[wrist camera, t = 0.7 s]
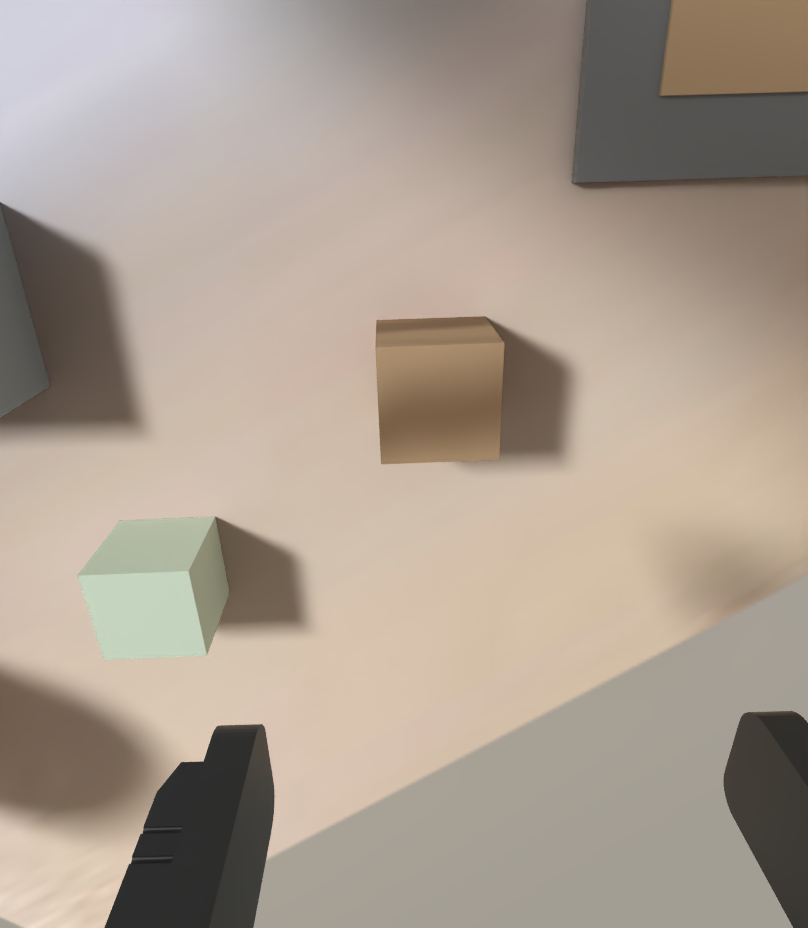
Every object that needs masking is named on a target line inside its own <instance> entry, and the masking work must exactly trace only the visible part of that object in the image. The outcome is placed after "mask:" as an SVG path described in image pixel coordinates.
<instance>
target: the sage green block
mask: <svg viewBox="0 0 808 928" xmlns="http://www.w3.org/2000/svg"><path fill="white" fill-rule="evenodd" d="M78 579H79V582H80V585H81V589H82V592H83V595H84V598H85V601H86V604H87V608H88V611H89V614H90V617H91V620H92V624H93V627H94V630H95V633H96V636H97V639H98V643H99V646H100V649H101V652H102V655H103V658H104V660H116V659H138V658H160V657H182V656H205V655H207V654H208V651H209V648H210V645H211V643H212V640H213V637H214V634H215V632H216V629H217V626H218V624H219V621H220V618H221V615H222V613H223V610H224V607H225V604H226V602H227V599H228V596H229V594H230V592H229V587H228V582H227V576H226V571H225V566H224V560H223V555H222V549H221V544H220V539H219V533H218V528H217V523H216V517H215V516H213V517H188V518H163V519H138V520H120V521H119V522H118V523H117V525H116V526H115V527H114V529H113V530H112V531H111V533H110V534H109V535H108V537H107V538H106V539H105V540H104V542H103V543H102V544H101V546H100V547H99V548H98V550H97V551H96V552H95V554H94V555H93V556H92V557H91V559H90V560H89V561H88V563H87V564H86V565H85V567H84V568H83V569H82V570H81V572H80V573H79V574H78Z"/></svg>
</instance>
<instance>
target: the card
mask: <svg viewBox="0 0 808 928" xmlns="http://www.w3.org/2000/svg"><path fill="white" fill-rule="evenodd" d="M777 176H808V0H587V4H586V16H585V28H584V40H583V52H582V64H581V76H580V88H579V100H578V112H577V124H576V136H575V148H574V160H573V173H572V183H583V182H616V181H648V180H680V179H712V178H745V177H777Z"/></svg>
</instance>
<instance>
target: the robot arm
mask: <svg viewBox="0 0 808 928" xmlns="http://www.w3.org/2000/svg"><path fill="white" fill-rule="evenodd" d="M724 791H725V796H726V799H727V803H728V806H729V809H730V811H731V814H732V815H733V818H734V819H735V821H736V823H737V825H738V827H739V829H740V830H741V832H742V834H743V836H744V838H745V840H746V841H747V843H748V845H749V847H750V849H751V851H752V852H753V854H754V856H755V858H756V860H757V862H758V864H759V865H760V867H761V869H762V871H763V873H764V874H765V876H766V878H767V880H768V882H769V884H770V885H771V887H772V889H773V891H774V893H775V895H776V897H777V898H778V900H779V902H780V904H781V906H782V908H783V910H784V911H785V913H786V915H787V917H788V918H789V921H790V922H791V924H792V926H793V928H808V723H807V721H806V720H805V719H804V718H803V717H802V716H801V715H799V714H798V713H796V712H793V711H779V712H748V713H745V714H743V716H742V717H741V719H740V722H739V725H738V728H737V732H736V735H735V739H734V742H733V745H732V749H731V752H730V756H729V759H728V762H727V766H726V769H725V773H724ZM273 814H274V783H273V777H272V770H271V764H270V757H269V751H268V745H267V738H266V732H265V728H264V726H263V725H262V724H260V725H224V726H217V727H216V729H215V730H214V732H213V735H212V738H211V741H210V744H209V747H208V750H207V753H206V756H205V759H204V762H181V763H180V764H179V766H178V767H177V768H176V769H175V771H174V772H173V773H172V774H171V775H170V777H169V778H168V779H167V780H166V782H165V783H164V784H163V785H162V787H161V788H160V789H159V790H158V791H157V793H156V796H155V798H154V801H153V804H152V806H151V809H150V811H149V814H148V817H147V819H146V822H145V824H144V830H143V834H141V835H140V837H139V840H138V842H137V845H136V848H135V850H134V853H133V855H132V862H131V864H129V866H128V868H127V871H126V874H125V876H124V879H123V881H122V884H121V887H120V889H119V892H118V894H117V897H116V899H115V902H114V905H113V907H112V910H111V912H110V915H109V918H108V920H107V923H106V925H105V928H253V926H254V921H255V916H256V910H257V905H258V899H259V894H260V889H261V883H262V878H263V872H264V867H265V862H266V856H267V851H268V845H269V840H270V835H271V829H272V823H273Z"/></svg>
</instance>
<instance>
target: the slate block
mask: <svg viewBox="0 0 808 928" xmlns="http://www.w3.org/2000/svg"><path fill="white" fill-rule="evenodd" d="M49 387H50V383H49V379H48V376H47V372H46V368H45V365H44V361H43V357H42V354H41V350H40V346H39V343H38V339H37V335H36V332H35V328H34V324H33V321H32V317H31V313H30V310H29V306H28V302H27V299H26V295H25V291H24V288H23V284H22V280H21V277H20V273H19V269H18V266H17V262H16V258H15V255H14V251H13V247H12V244H11V240H10V236H9V233H8V229H7V225H6V222H5V218H4V215H3V211H2V207H1V204H0V418H1V417H2V416H4V415H6V414H7V413H9V412H10V411H12V410H14V409H15V408H17V407H18V406H20V405H22V404H23V403H25V402H26V401H28V400H30V399H31V398H33V397H34V396H36V395H37V394H39V393H41V392H42V391H44V390H45V389H47V388H49Z"/></svg>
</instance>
